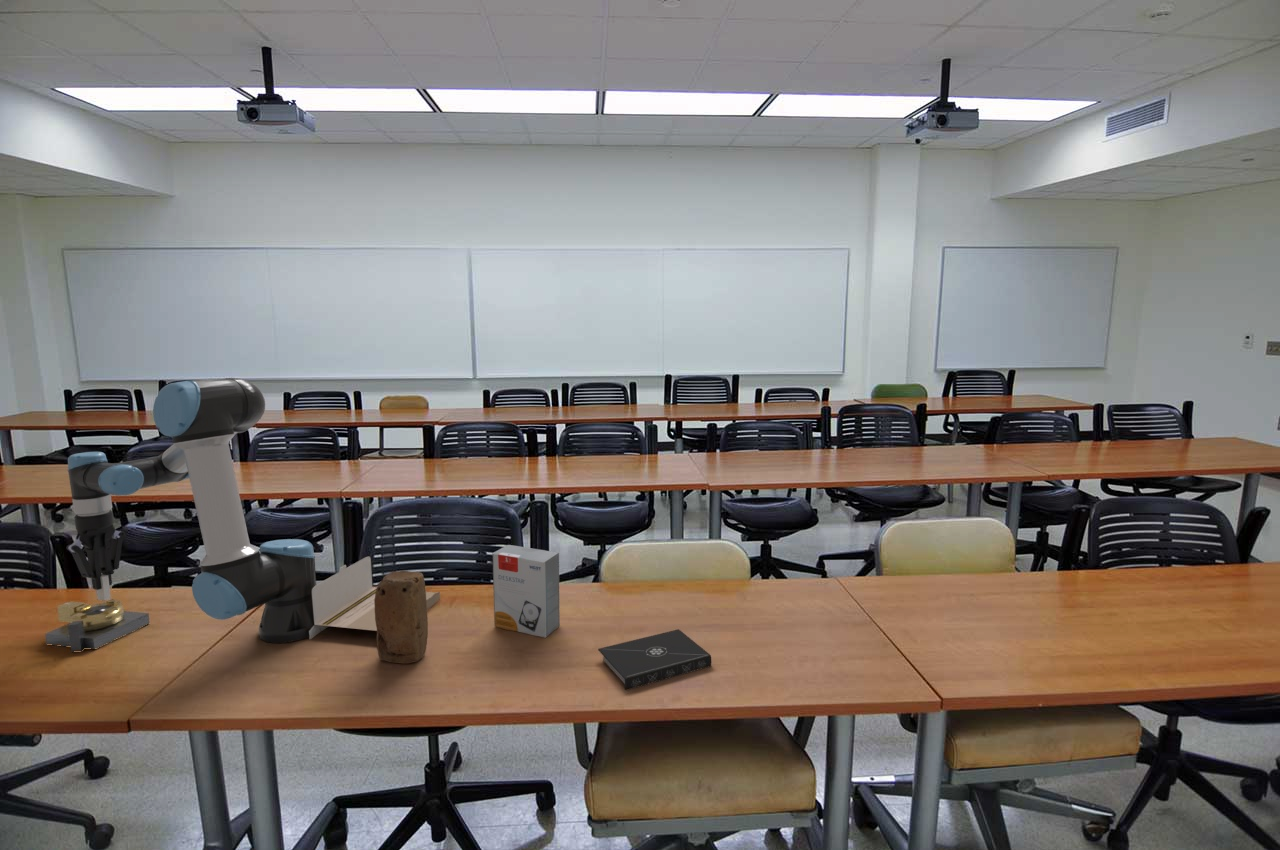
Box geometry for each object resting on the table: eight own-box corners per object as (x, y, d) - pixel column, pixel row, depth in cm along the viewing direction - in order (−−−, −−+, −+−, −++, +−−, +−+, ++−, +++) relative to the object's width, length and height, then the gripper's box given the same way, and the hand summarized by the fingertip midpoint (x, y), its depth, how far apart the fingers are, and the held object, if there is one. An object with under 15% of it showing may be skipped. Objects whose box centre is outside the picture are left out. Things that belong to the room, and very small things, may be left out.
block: (432, 650, 151) (427, 569, 148) (419, 666, 143) (414, 582, 140) (387, 648, 151) (382, 568, 148) (372, 665, 144) (367, 581, 141)
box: (373, 656, 149) (369, 599, 147) (298, 647, 153) (293, 592, 151) (447, 596, 183) (445, 549, 181) (384, 590, 187) (381, 544, 185)
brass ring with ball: (134, 614, 162) (132, 599, 162) (94, 632, 152) (92, 616, 152) (85, 610, 165) (83, 595, 164) (43, 627, 155) (41, 611, 154)
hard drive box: (493, 627, 162) (490, 553, 159) (510, 615, 169) (507, 543, 166) (546, 638, 156) (544, 561, 153) (561, 625, 163) (559, 551, 160)
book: (625, 692, 134) (625, 679, 133) (597, 660, 147) (597, 648, 146) (712, 668, 143) (712, 655, 143) (678, 640, 156) (678, 628, 156)
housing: (149, 624, 164) (146, 598, 163) (85, 654, 149) (82, 626, 148) (104, 619, 167) (101, 594, 166) (37, 649, 151) (33, 621, 150)
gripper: (109, 504, 170) (119, 588, 173) (53, 518, 158) (65, 607, 161) (130, 506, 168) (140, 591, 172) (76, 520, 156) (87, 611, 159)
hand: (104, 599), depth 166 cm, fingers closed
